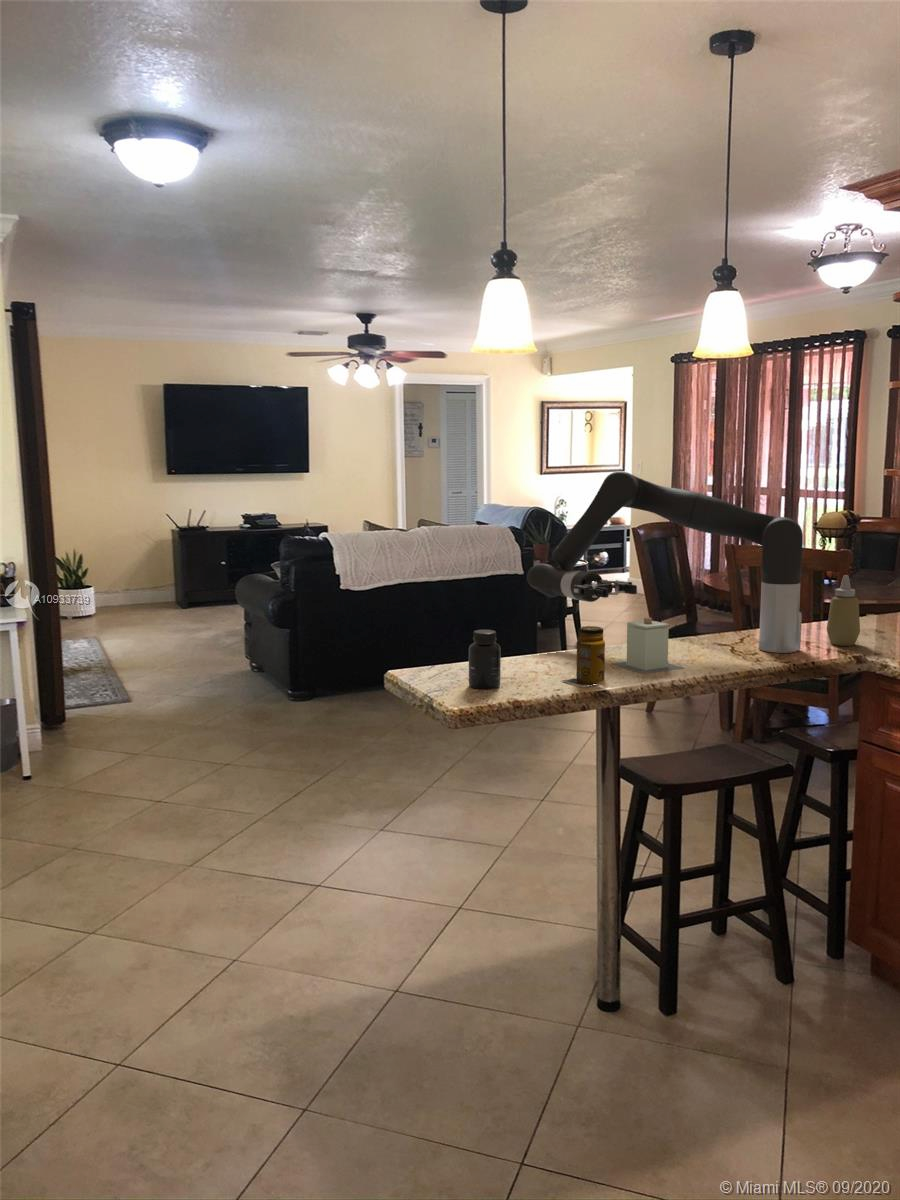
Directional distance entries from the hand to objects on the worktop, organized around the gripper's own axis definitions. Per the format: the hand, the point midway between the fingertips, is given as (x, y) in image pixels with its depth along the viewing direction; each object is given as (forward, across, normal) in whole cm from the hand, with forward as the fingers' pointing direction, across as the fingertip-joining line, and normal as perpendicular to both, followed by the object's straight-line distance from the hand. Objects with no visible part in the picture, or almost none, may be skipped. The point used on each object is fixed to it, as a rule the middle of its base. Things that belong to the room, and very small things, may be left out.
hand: (621, 591), depth 216 cm
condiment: (+15, -22, +17) cm, 31 cm away
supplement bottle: (+7, -42, +16) cm, 46 cm away
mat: (+11, -1, +17) cm, 20 cm away
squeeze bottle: (+14, +60, +18) cm, 65 cm away
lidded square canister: (+11, -1, +16) cm, 19 cm away
